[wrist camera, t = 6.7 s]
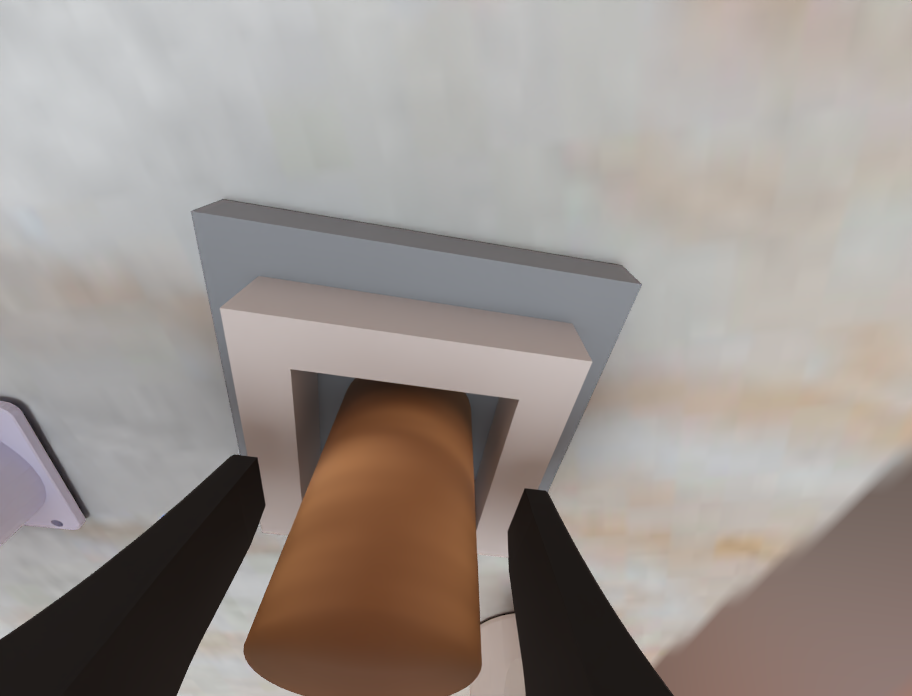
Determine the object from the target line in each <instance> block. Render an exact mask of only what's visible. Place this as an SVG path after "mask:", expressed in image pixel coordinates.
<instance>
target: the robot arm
mask: <svg viewBox="0 0 912 696" xmlns="http://www.w3.org/2000/svg"><path fill="white" fill-rule="evenodd" d="M265 506H266V504H265V498H264V492H263V487H262V481H261V475H260V469H259V463H258V457H251V456H242V455H232V456H231V457H229V458H228V459H227V460H226V461H225V462H224V463H223V464H222V465H221V466H219V467H218V468H217V469H216V470H215V471H214V472H213V473H212V474H211V475H210V476H209V477H207V478H206V479H205V480H204V481H203V482H202V483H201V484H200V485H199V486H197V487H196V488H195V489H194V490H193V491H192V492H191V493H190V494H188V495H187V496H186V497H185V498H184V499H183V500H182V501H181V502H179V503H178V504H177V505H176V506H175V507H174V508H172V509H171V510H170V511H169V512H168V513H167V514H165V515H164V516H163V517H162V518H161V519H160V520H158V521H157V522H156V523H155V524H154V525H153V526H151V527H150V528H149V529H148V530H147V531H145V532H144V533H143V534H142V535H141V536H139V537H138V538H137V539H136V540H134V541H133V542H132V543H131V544H129V545H128V546H127V547H126V548H124V549H123V550H122V551H121V552H119V553H118V554H117V555H116V556H114V557H113V558H112V559H111V560H109V561H108V562H107V563H106V564H104V565H103V566H102V567H101V568H99V569H98V570H97V571H95V572H94V573H93V574H91V575H90V576H89V577H87V578H86V579H85V580H83V581H82V582H81V583H80V584H78V585H77V586H75V587H74V588H73V589H71V590H70V591H69V592H67V593H66V594H65V595H63V596H62V597H61V598H59V599H58V600H56V601H55V602H54V603H52V604H51V605H49V606H48V607H47V608H45V609H44V610H42V611H41V612H40V613H38V614H37V615H35V616H34V617H33V618H31V619H30V620H28V621H27V622H25V623H24V624H22V625H21V626H19V627H18V628H17V629H15V630H14V631H12V632H11V633H9V634H8V635H6V636H5V637H3V638H2V639H0V696H177V693H178V691H179V689H180V686H181V684H182V681H183V679H184V677H185V674H186V672H187V670H188V667H189V665H190V663H191V661H192V659H193V657H194V654H195V652H196V650H197V648H198V646H199V644H200V642H201V640H202V638H203V636H204V634H205V632H206V630H207V628H208V627H209V625H210V623H211V621H212V619H213V617H214V615H215V613H216V611H217V609H218V607H219V605H220V603H221V601H222V600H223V598H224V596H225V594H226V592H227V590H228V588H229V586H230V584H231V582H232V580H233V578H234V576H235V575H236V573H237V571H238V569H239V567H240V565H241V563H242V561H243V559H244V557H245V555H246V553H247V551H248V549H249V547H250V545H251V542H252V540H253V537H254V535H255V532H256V530H257V527H258V525H259V522H260V520H261V517H262V514H263V512H264V509H265ZM85 521H86V520H85V517H84V515H83V514H82V512H81V510H80V509H79V507H78V505H77V503H76V502H75V500H74V498H73V497H72V495H71V493H70V492H69V490H68V488H67V487H66V485H65V483H64V482H63V480H62V478H61V476H60V475H59V473H58V471H57V470H56V468H55V466H54V465H53V463H52V461H51V460H50V458H49V456H48V455H47V453H46V451H45V449H44V448H43V446H42V444H41V443H40V441H39V439H38V438H37V436H36V434H35V433H34V431H33V429H32V427H31V426H30V424H29V422H28V421H27V419H26V417H25V416H24V414H23V412H22V411H21V410H20V409H19V408H18V407H17V406H15V405H14V404H11V403H9V402H5V401H0V546H1V545H2V544H3V543H5V542H6V541H7V540H8V539H9V538H10V537H11V536H12V535H13V534H14V533H15V532H16V531H17V530H18V529H19V528H20V527H21V526H22V525H27V526H38V527H48V528H58V529H68V530H76V529H79V528H80V527H81V526H82V525H83V524H84V523H85ZM507 533H508V560H509V575H510V582H511V589H512V596H513V603H514V610H515V617H516V624H517V631H518V638H519V645H520V651H521V658H522V665H523V674H524V683H525V693H526V696H674V695H673V694H672V693H671V691H670V690H669V689H668V687H667V686H666V685H665V683H664V682H663V680H662V679H661V678H660V677H659V675H658V674H657V672H656V671H655V670H654V668H653V667H652V666H651V664H650V663H649V661H648V660H647V658H646V657H645V656H644V654H643V653H642V651H641V650H640V649H639V647H638V646H637V644H636V643H635V641H634V640H633V638H632V637H631V636H630V634H629V633H628V631H627V630H626V628H625V627H624V625H623V624H622V622H621V620H620V619H619V617H618V616H617V614H616V613H615V611H614V610H613V608H612V606H611V605H610V603H609V602H608V600H607V599H606V597H605V595H604V594H603V592H602V590H601V589H600V587H599V585H598V584H597V582H596V580H595V579H594V577H593V575H592V574H591V572H590V570H589V568H588V567H587V565H586V563H585V561H584V560H583V558H582V556H581V555H580V553H579V551H578V549H577V547H576V546H575V544H574V542H573V540H572V538H571V536H570V534H569V533H568V531H567V529H566V527H565V525H564V523H563V521H562V519H561V517H560V515H559V514H558V512H557V510H556V508H555V506H554V504H553V502H552V500H551V498H550V496H549V494H548V492H547V491H545V490H536V489H528V488H525V489H524V491H523V494H522V496H521V499H520V501H519V504H518V506H517V509H516V511H515V514H514V516H513V519H512V521H511V524H510V526H509V529H508V531H507Z"/></svg>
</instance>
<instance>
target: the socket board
mask: <svg viewBox="0 0 912 696" xmlns="http://www.w3.org/2000/svg"><path fill="white" fill-rule="evenodd" d="M191 214H192V219H193V224H194V229H195V234H196V239H197V244H198V249H199V254H200V258H201V263H202V268H203V273H204V278H205V283H206V288H207V293H208V298H209V303H210V308H211V313H212V318H213V323H214V328H215V333H216V338H217V342H218V347H219V352H220V357H221V362H222V367H223V372H224V377H225V382H226V387H227V392H228V397H229V402H230V407H231V412H232V417H233V422H234V426H235V431H236V436H237V441H238V446H239V451H240V455H242V456H251V457H258V463H259V469H260V475H261V481H262V487H263V492H264V498H265V504H266V506H265V509H264V512H263V514H262V517H261V520H260V525H261V530H262V533H269V534H279V535H289V532H290V530H291V528H292V525H293V523H294V520H295V518H296V515H297V513H298V510H299V508H300V505H301V503H302V500H303V498H304V495H305V493H306V490H307V488H308V485H309V483H310V480H311V478H312V476H313V473H314V471H315V468H316V466H317V463H318V461H319V458H320V456H321V453H322V451H323V448H324V446H325V443H326V441H327V438H328V436H329V433H330V431H331V428H332V426H333V424H334V421H335V419H336V416H337V414H338V411H339V409H340V406H341V404H342V401H343V399H344V396H345V394H346V391H347V389H348V387H349V386H350V384H351V383H352V382H353V381H354V379H355V378H361V379H368V380H376V381H383V382H391V383H398V384H406V385H413V386H420V387H428V388H435V389H443V390H450V391H458V392H465V393H466V395H467V397H468V399H469V402H470V406H471V420H472V444H473V467H474V490H475V514H476V537H477V554H478V555H488V556H498V557H508V533H507V531H508V529H509V526H510V524H511V521H512V519H513V516H514V514H515V511H516V509H517V506H518V504H519V501H520V499H521V496H522V494H523V491H524V489H525V488H528V489H536V490H545V491H547V492H548V490H549V488H550V486H551V484H552V482H553V479H554V477H555V475H556V473H557V471H558V468H559V466H560V464H561V462H562V460H563V457H564V455H565V453H566V451H567V449H568V446H569V444H570V442H571V440H572V437H573V435H574V433H575V431H576V429H577V426H578V424H579V422H580V420H581V418H582V415H583V413H584V411H585V409H586V407H587V404H588V402H589V400H590V398H591V396H592V393H593V391H594V389H595V387H596V385H597V382H598V380H599V378H600V376H601V374H602V371H603V369H604V367H605V365H606V363H607V360H608V358H609V356H610V354H611V352H612V349H613V347H614V345H615V343H616V341H617V338H618V336H619V334H620V332H621V330H622V327H623V325H624V323H625V321H626V319H627V316H628V314H629V312H630V310H631V308H632V305H633V303H634V301H635V299H636V297H637V294H638V292H639V290H640V288H641V286H642V284H641V283H640V282H639V281H638V280H637V279H636V278H635V277H634V276H633V275H632V274H631V273H629V272H628V271H627V270H626V269H625V268H624V267H623V266H621V265H615V264H609V263H603V262H597V261H591V260H585V259H579V258H573V257H567V256H561V255H555V254H549V253H543V252H537V251H531V250H525V249H519V248H513V247H507V246H501V245H495V244H489V243H483V242H477V241H471V240H465V239H458V238H452V237H446V236H440V235H434V234H428V233H422V232H416V231H410V230H404V229H398V228H392V227H386V226H380V225H374V224H368V223H362V222H356V221H350V220H344V219H338V218H332V217H326V216H320V215H314V214H308V213H302V212H296V211H290V210H284V209H278V208H272V207H266V206H260V205H254V204H248V203H242V202H235V201H229V200H223V199H222V200H219V201H217V202H214V203H211V204H209V205H206V206H203V207H201V208H198V209H195V210H193V211H191Z"/></svg>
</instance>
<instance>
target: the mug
mask: <svg viewBox="0 0 912 696" xmlns="http://www.w3.org/2000/svg"><path fill="white" fill-rule="evenodd" d="M480 630H481V654H482V667H481V671H480V673H479V675H478V677H477V678H476V679H475V680H474V681H473V682H472V683H471V684H470V696H526V693H525V683H524V674H523V665H522V658H521V651H520V645H519V638H518V631H517V624H516V617H515V613H513V614H508V615H502V616H499V617H496V618H493V619H490V620H488V621H486V622H484V623H483V624H481V625H480Z"/></svg>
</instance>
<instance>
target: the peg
mask: <svg viewBox="0 0 912 696" xmlns="http://www.w3.org/2000/svg"><path fill="white" fill-rule="evenodd" d="M244 655H245V659H246V660H247V662H248V664H249V665H250V666H251V668H252V669H253V670H254V671H255V672H256V673H258V674H259V675H260V676H261V677H263V678H264V679H266V680H268V681H269V682H271V683H273V684H275V685H277V686H279V687H281V688H284V689H286V690H288V691H291V692H294V693H297V694H300V695H303V696H449V695H452V694H454V693H456V692H458V691H460V690H462V689H464V688H466V687H467V686H468V685H470V684H471V683H472V682H473V681H474V680H475V679H476V678H477V677H478V675H479V673H480V671H481V667H482V654H481V630H480V607H479V584H478V560H477V537H476V514H475V490H474V467H473V444H472V420H471V406H470V402H469V399H468V397H467V395H466V393H465V392H458V391H450V390H443V389H435V388H428V387H420V386H413V385H406V384H398V383H391V382H383V381H376V380H368V379H361V378H355V379H354V381H353V382H352V383H351V384H350V386H349V387H348V389H347V391H346V394H345V396H344V399H343V401H342V404H341V406H340V409H339V411H338V414H337V416H336V419H335V421H334V424H333V426H332V428H331V431H330V433H329V436H328V438H327V441H326V443H325V446H324V448H323V451H322V453H321V456H320V458H319V461H318V463H317V466H316V468H315V471H314V473H313V476H312V478H311V480H310V483H309V485H308V488H307V490H306V493H305V495H304V498H303V500H302V503H301V505H300V508H299V510H298V513H297V515H296V518H295V520H294V523H293V525H292V528H291V530H290V532H289V535H288V537H287V540H286V542H285V545H284V547H283V550H282V552H281V555H280V557H279V560H278V562H277V565H276V567H275V570H274V572H273V575H272V577H271V580H270V582H269V585H268V587H267V589H266V592H265V594H264V597H263V599H262V602H261V604H260V607H259V609H258V612H257V614H256V617H255V619H254V622H253V624H252V627H251V629H250V632H249V634H248V637H247V639H246V641H245V644H244Z"/></svg>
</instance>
